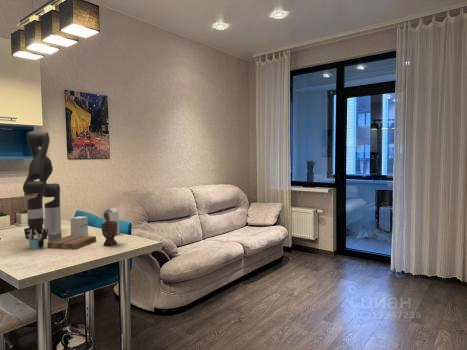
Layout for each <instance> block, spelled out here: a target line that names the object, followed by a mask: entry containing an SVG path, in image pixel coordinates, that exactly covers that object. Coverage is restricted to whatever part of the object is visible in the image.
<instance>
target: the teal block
mask: <svg viewBox="0 0 467 350" xmlns="http://www.w3.org/2000/svg"><path fill="white" fill-rule="evenodd" d="M28 246H29V249H30V250H38V249H41V248H44V247H45V244H44V245H43V247H39V239H38V237H34V239H30V240H29V239H28Z"/></svg>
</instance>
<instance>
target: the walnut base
mask: <svg viewBox="0 0 467 350" xmlns="http://www.w3.org/2000/svg"><path fill="white" fill-rule="evenodd" d="M96 242H97V236H95V235H94V236H92V235H88V236H72V235H71V234H70V235H66V236H63V237H62V238H60V239H57V240H54V241H51V242H48V241H47V243H46V247H47V249H56V250H57V249H58V250H79V249H81V248H83V247H85V246H89V245H91V244H93V243H96Z"/></svg>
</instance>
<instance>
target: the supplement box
mask: <svg viewBox="0 0 467 350" xmlns="http://www.w3.org/2000/svg"><path fill="white" fill-rule="evenodd" d="M69 219H70V220H69V221H70V235H72V236H89V225H88V224H89V223H88V219H89V218H88V216H79V215H78V216H75V217H70V218H69Z"/></svg>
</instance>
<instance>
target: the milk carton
mask: <svg viewBox="0 0 467 350" xmlns="http://www.w3.org/2000/svg"><path fill="white" fill-rule="evenodd" d="M105 212H108V213H109V217H110V221H117V227H118V229H117V234H116V236H117V235H119V234H120V218H119V217H120V215H119V214H120V211H119V210H118V209H117V208H116V207H115V206H114V204H113V205H109V206H107V207H106V208H105V210H104V211H103V213H102V214H103V215H102V217H103V220H102V221H103V222H106V220H105V218H104V213H105Z"/></svg>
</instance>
